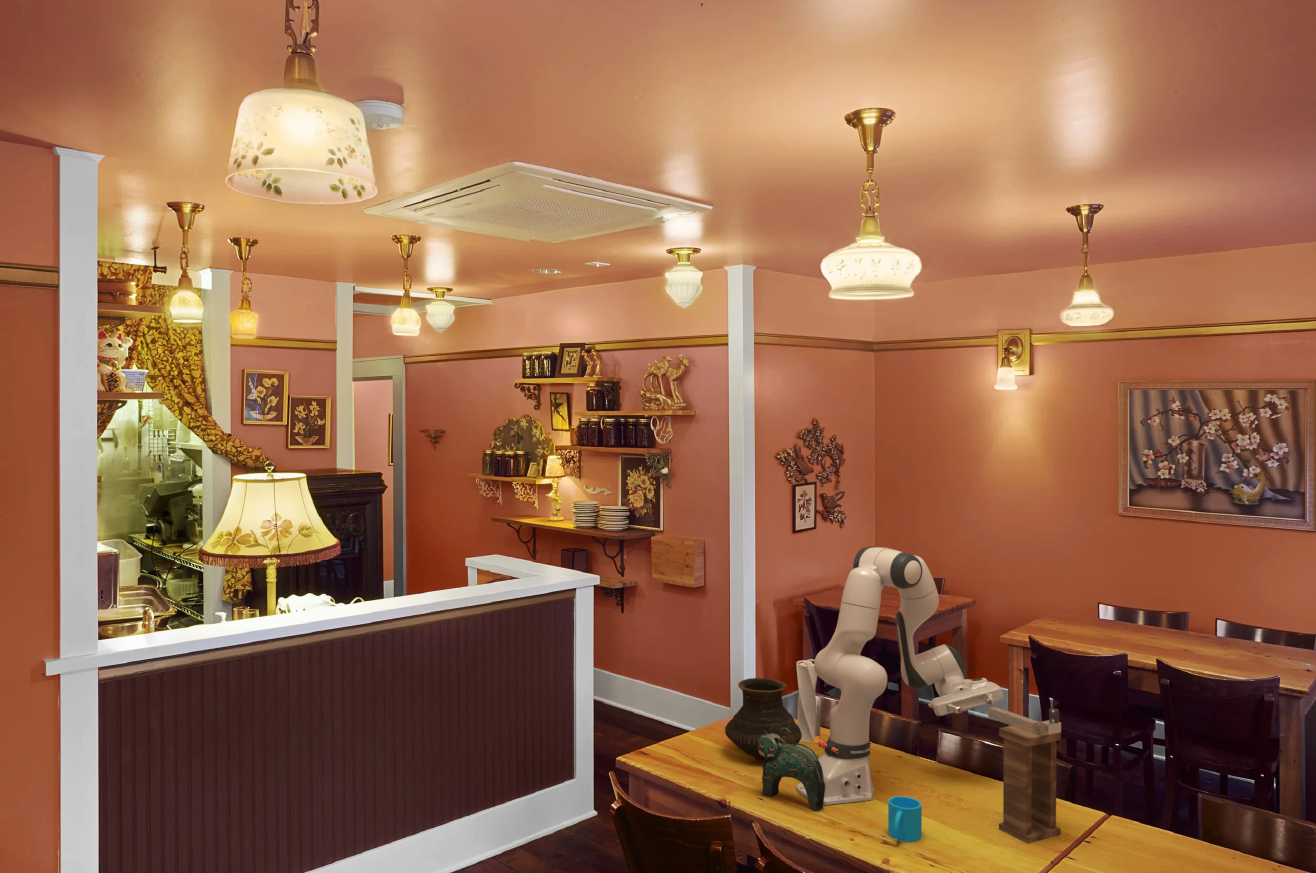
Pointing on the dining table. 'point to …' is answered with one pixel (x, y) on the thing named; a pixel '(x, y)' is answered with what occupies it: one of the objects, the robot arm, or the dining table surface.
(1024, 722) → the crank handle
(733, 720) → the ceramic pot
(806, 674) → the skyscraper
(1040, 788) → the shelf stand
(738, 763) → the dining table surface
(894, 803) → the mug
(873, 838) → the dining table surface
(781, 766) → the ceramic cat
